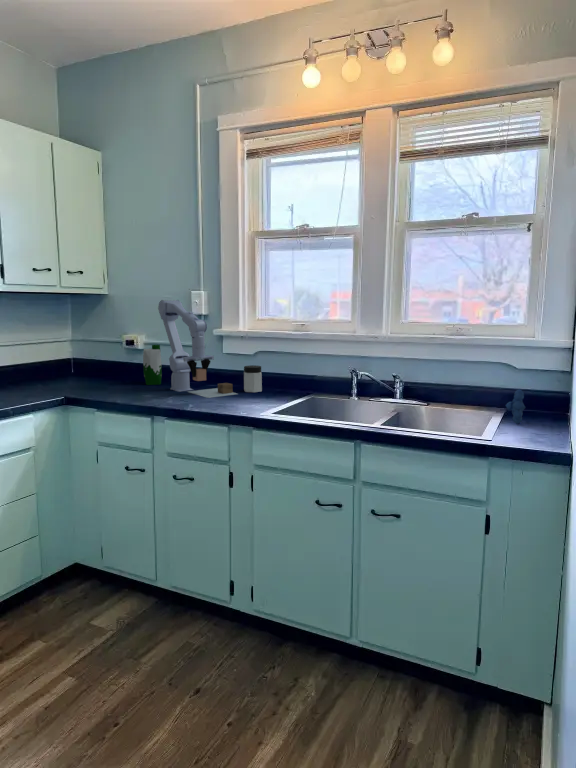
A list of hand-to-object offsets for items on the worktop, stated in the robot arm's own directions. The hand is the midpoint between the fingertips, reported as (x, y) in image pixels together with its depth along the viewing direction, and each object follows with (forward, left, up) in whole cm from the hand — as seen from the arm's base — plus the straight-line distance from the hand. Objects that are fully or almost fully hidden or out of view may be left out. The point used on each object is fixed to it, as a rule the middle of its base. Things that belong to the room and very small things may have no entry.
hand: (199, 376), depth 246 cm
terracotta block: (0, 0, -2) cm, 2 cm away
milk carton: (-42, -4, -9) cm, 43 cm away
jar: (+9, +24, -9) cm, 27 cm away
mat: (+2, +6, -8) cm, 10 cm away
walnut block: (+5, +11, -8) cm, 14 cm away
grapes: (+119, +62, -9) cm, 134 cm away
